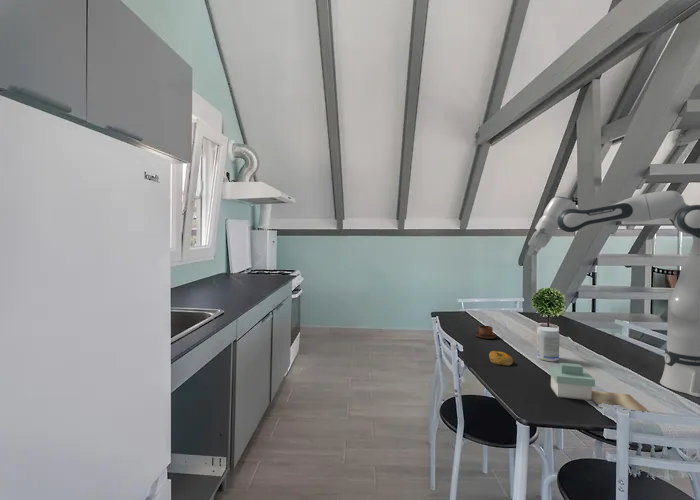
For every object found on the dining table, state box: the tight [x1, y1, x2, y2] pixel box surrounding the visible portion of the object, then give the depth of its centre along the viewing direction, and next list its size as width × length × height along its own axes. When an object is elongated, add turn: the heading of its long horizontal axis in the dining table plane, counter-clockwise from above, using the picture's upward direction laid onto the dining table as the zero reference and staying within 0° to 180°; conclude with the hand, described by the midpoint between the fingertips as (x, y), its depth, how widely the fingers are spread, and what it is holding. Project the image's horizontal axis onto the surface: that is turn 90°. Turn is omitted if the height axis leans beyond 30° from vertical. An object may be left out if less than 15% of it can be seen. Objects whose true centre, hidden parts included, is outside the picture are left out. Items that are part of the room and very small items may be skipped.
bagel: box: [488, 350, 514, 367], centre depth 171 cm, size 10×11×5 cm
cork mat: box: [591, 390, 650, 412], centre depth 131 cm, size 15×14×1 cm
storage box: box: [550, 375, 593, 401], centre depth 137 cm, size 11×9×7 cm
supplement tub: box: [536, 326, 560, 362], centre depth 176 cm, size 10×10×15 cm
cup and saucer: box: [474, 325, 498, 340], centre depth 214 cm, size 12×12×6 cm
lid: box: [548, 362, 596, 388], centre depth 137 cm, size 12×10×6 cm
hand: (531, 254), depth 175 cm, fingers open, 8 cm apart
